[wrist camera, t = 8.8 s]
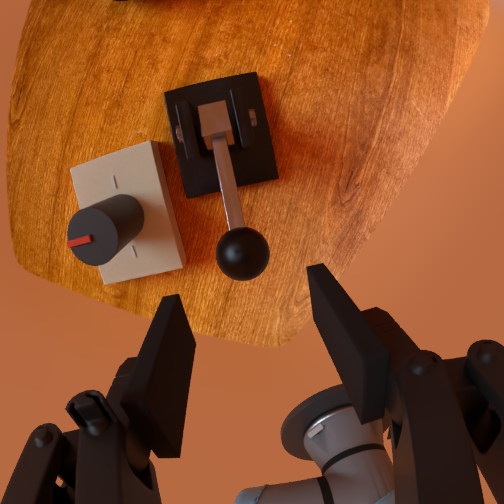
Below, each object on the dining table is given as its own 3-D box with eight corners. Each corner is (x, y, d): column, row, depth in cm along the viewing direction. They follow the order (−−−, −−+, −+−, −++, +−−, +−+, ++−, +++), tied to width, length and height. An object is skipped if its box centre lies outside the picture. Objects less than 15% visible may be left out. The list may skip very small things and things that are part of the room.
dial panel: (187, 259, 35) (183, 268, 32) (113, 275, 35) (103, 285, 32) (157, 141, 31) (150, 140, 28) (81, 166, 31) (68, 168, 28)
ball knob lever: (273, 275, 22) (276, 273, 18) (225, 285, 22) (218, 285, 18) (237, 117, 24) (234, 93, 20) (195, 127, 24) (186, 104, 20)
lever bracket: (277, 177, 33) (300, 189, 22) (188, 196, 33) (166, 219, 22) (255, 74, 29) (267, 36, 18) (165, 94, 29) (133, 67, 18)
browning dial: (137, 188, 29) (107, 201, 21) (149, 234, 31) (124, 261, 23) (97, 200, 29) (58, 216, 21) (109, 244, 31) (76, 272, 23)
